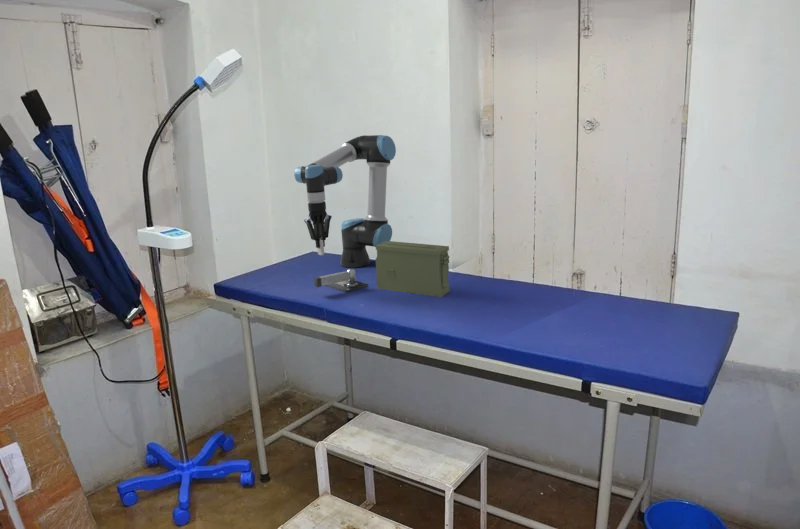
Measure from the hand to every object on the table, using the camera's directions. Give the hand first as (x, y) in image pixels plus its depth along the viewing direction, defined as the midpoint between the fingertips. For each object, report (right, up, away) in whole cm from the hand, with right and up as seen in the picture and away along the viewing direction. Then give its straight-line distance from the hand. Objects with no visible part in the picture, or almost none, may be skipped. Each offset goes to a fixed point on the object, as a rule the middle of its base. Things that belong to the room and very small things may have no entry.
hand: (321, 254), depth 264 cm
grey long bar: (+7, -14, 0) cm, 15 cm away
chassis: (+8, -14, +10) cm, 19 cm away
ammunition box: (+41, -16, -2) cm, 44 cm away
